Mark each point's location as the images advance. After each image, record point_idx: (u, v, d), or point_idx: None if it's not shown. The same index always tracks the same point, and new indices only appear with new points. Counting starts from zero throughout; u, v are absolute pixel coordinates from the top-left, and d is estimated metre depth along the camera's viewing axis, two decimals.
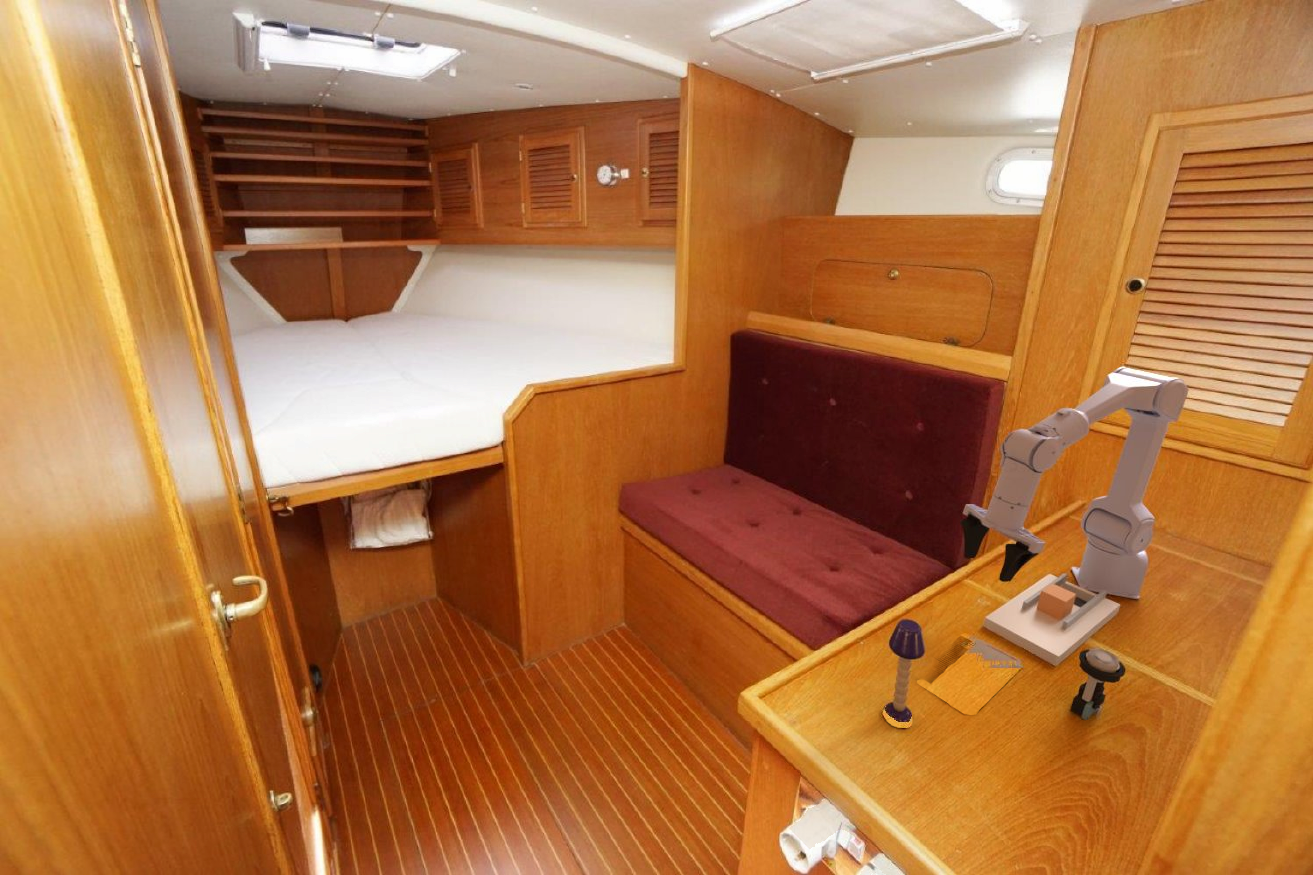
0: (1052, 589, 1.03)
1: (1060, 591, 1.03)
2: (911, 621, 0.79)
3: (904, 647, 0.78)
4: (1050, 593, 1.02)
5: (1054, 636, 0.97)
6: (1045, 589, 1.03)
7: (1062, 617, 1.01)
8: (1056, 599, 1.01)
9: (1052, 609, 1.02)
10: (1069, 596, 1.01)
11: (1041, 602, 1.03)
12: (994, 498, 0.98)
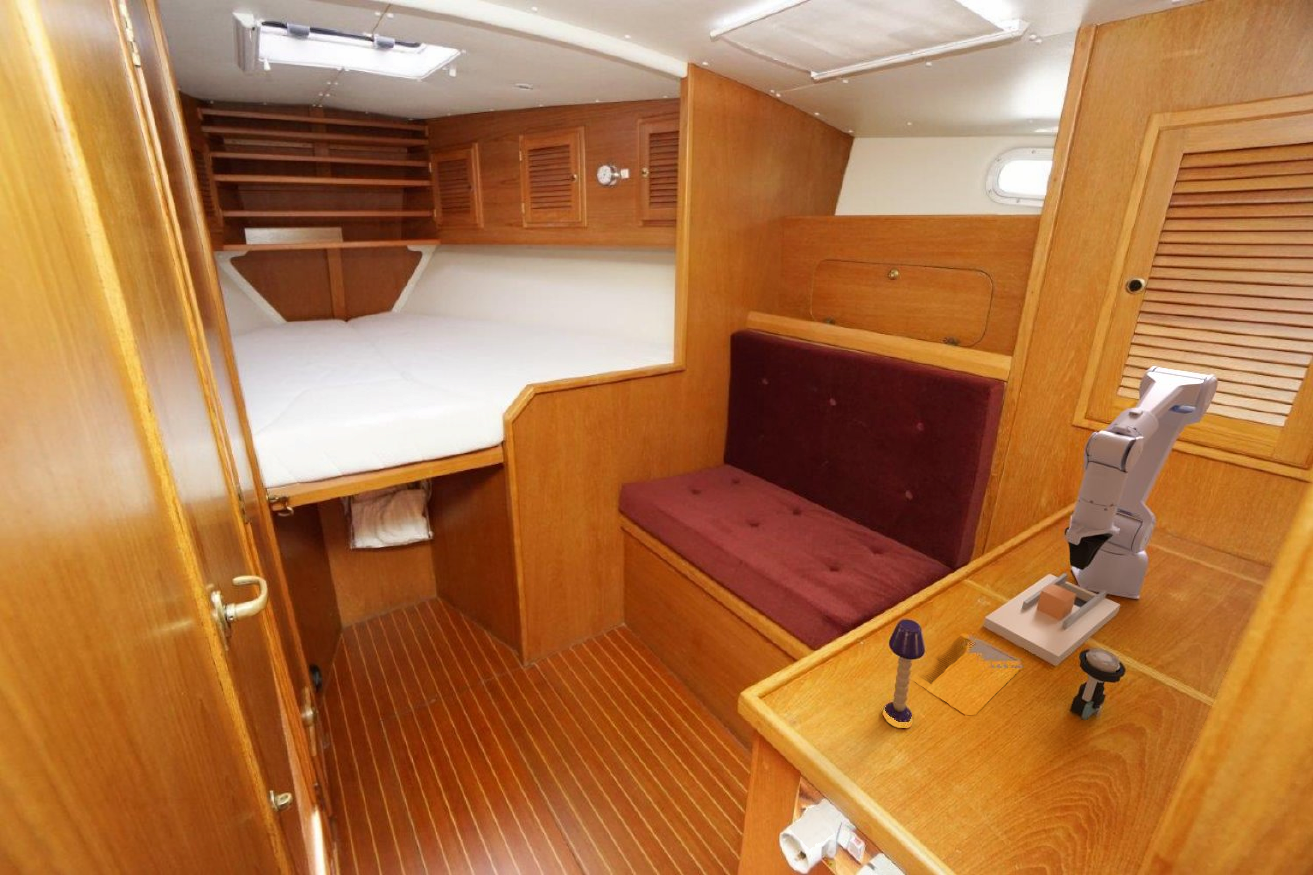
0: (1052, 589, 1.03)
1: (1060, 591, 1.03)
2: (911, 621, 0.79)
3: (904, 647, 0.78)
4: (1050, 593, 1.02)
5: (1054, 636, 0.97)
6: (1045, 589, 1.03)
7: (1062, 617, 1.01)
8: (1056, 599, 1.01)
9: (1052, 609, 1.02)
10: (1069, 596, 1.01)
11: (1041, 602, 1.03)
12: (1112, 508, 0.97)
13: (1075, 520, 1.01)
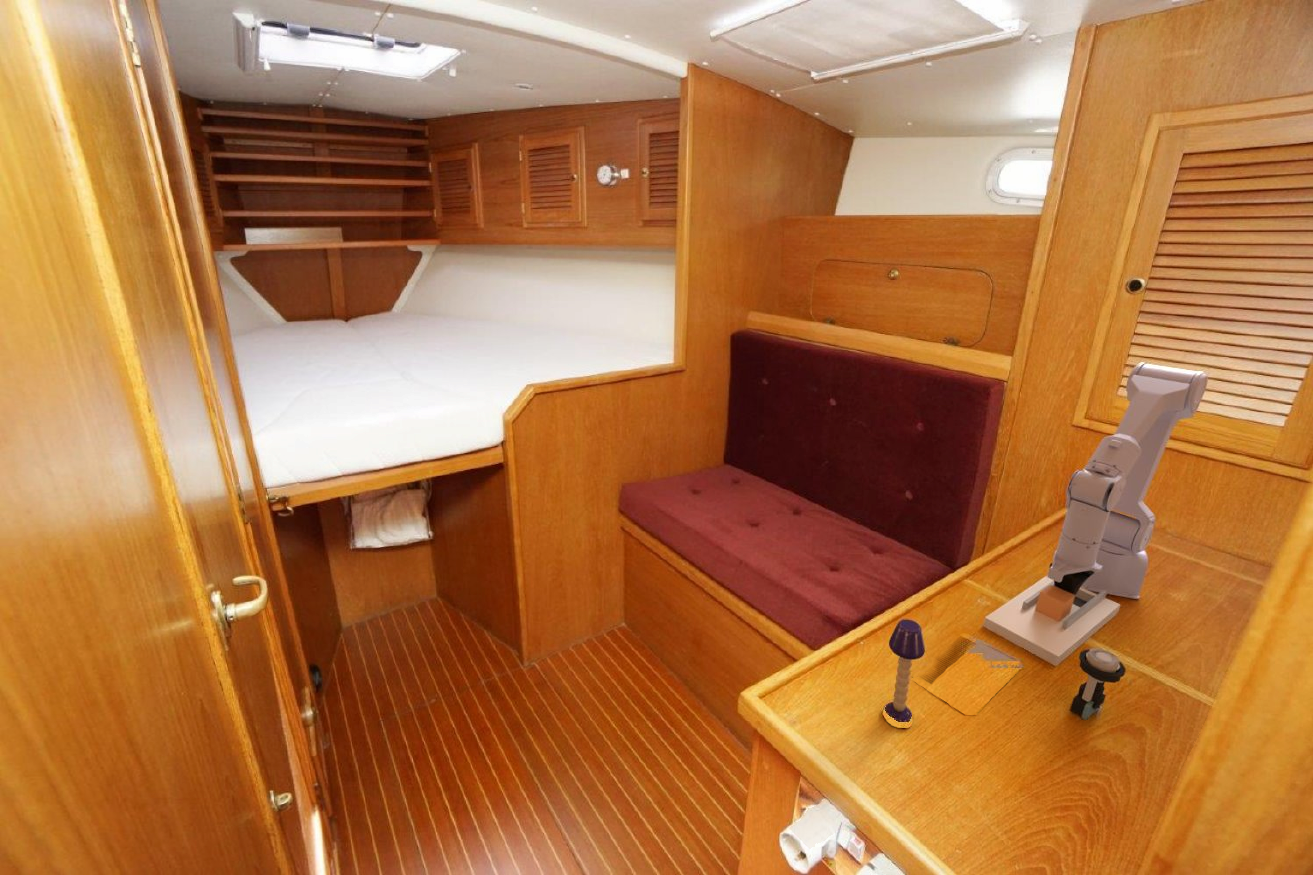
0: (1051, 590, 1.03)
1: (1058, 592, 1.02)
2: (911, 621, 0.79)
3: (904, 647, 0.78)
4: (1048, 594, 1.02)
5: (1054, 636, 0.97)
6: (1044, 590, 1.03)
7: (1061, 618, 1.01)
8: (1055, 600, 1.01)
9: (1051, 610, 1.02)
10: (1068, 597, 1.01)
11: (1040, 603, 1.03)
12: (1095, 546, 0.98)
13: (1058, 556, 1.02)
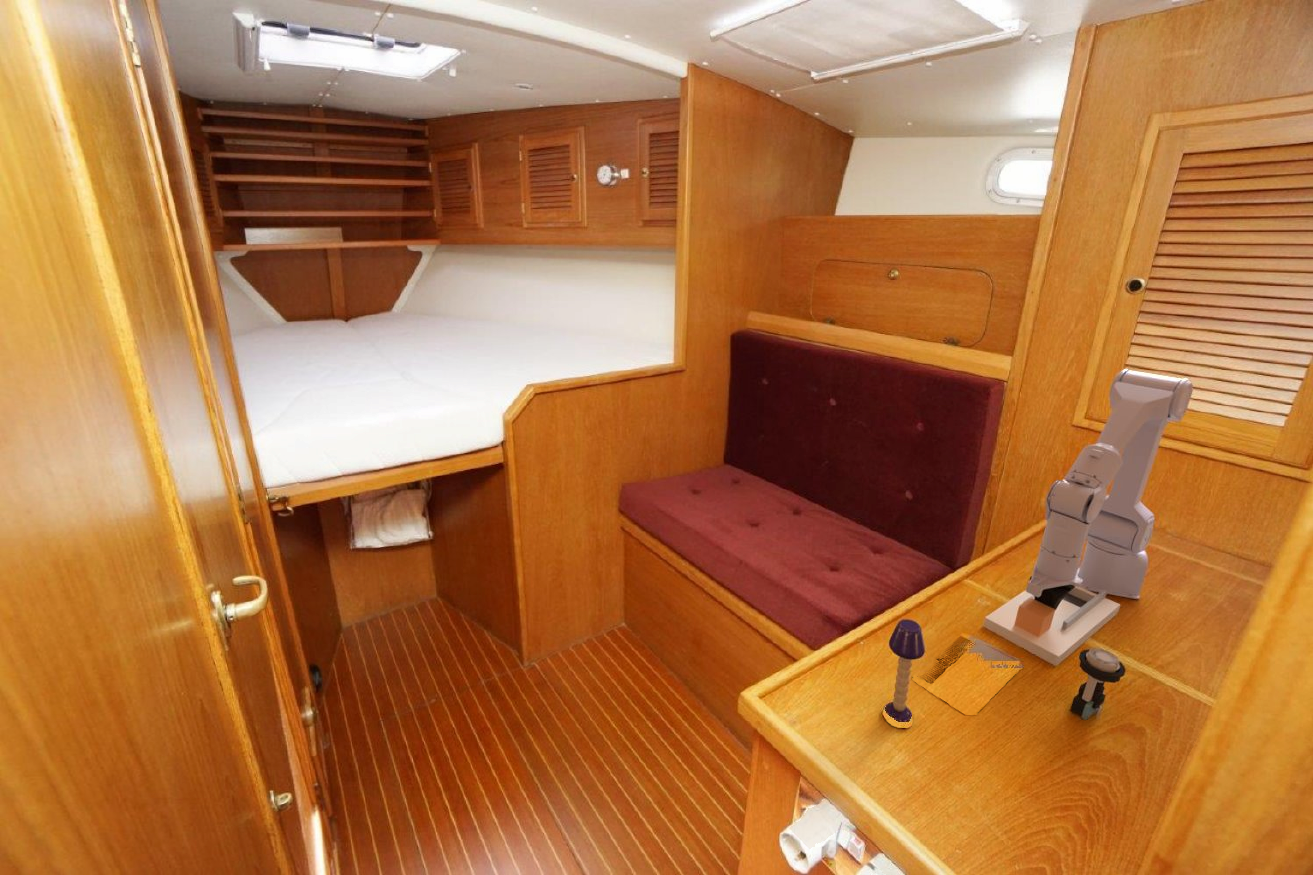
0: (1030, 604, 0.99)
1: (1038, 607, 0.99)
2: (911, 621, 0.79)
3: (904, 647, 0.78)
4: (1028, 608, 0.98)
5: (1054, 636, 0.97)
6: (1023, 604, 0.99)
7: (1040, 634, 0.97)
8: (1034, 615, 0.97)
9: (1030, 625, 0.98)
10: (1047, 612, 0.97)
11: (1019, 617, 0.99)
12: (1075, 559, 0.94)
13: (1038, 570, 0.98)
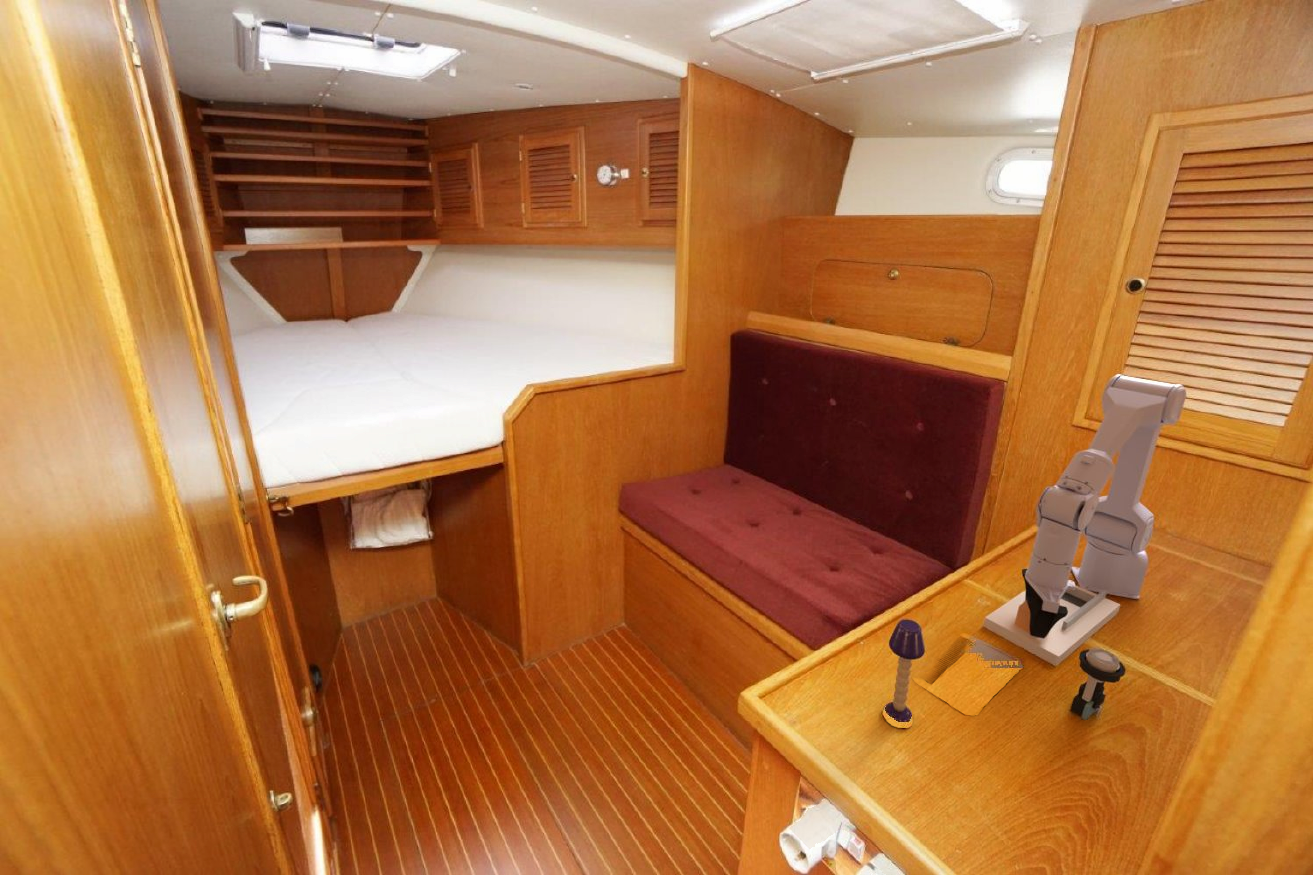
0: None
1: None
2: (911, 621, 0.79)
3: (904, 647, 0.78)
4: (1028, 608, 0.98)
5: (1054, 636, 0.97)
6: (1023, 604, 0.99)
7: None
8: None
9: None
10: None
11: (1019, 617, 0.99)
12: (1072, 564, 0.93)
13: (1036, 582, 0.95)
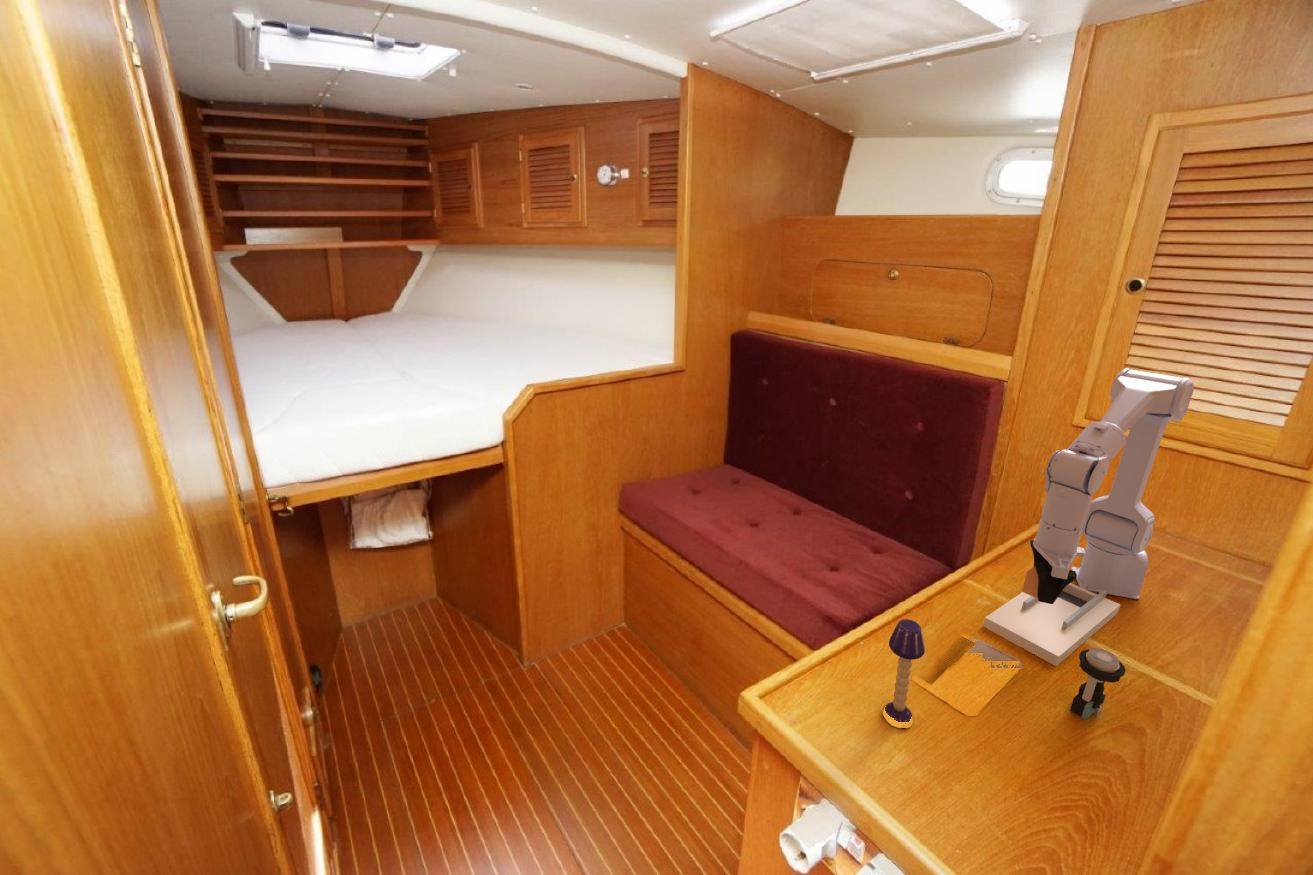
0: None
1: None
2: (911, 621, 0.79)
3: (904, 647, 0.78)
4: (1036, 574, 0.96)
5: (1054, 636, 0.97)
6: (1031, 570, 0.97)
7: None
8: None
9: None
10: None
11: (1027, 584, 0.97)
12: (1081, 530, 0.91)
13: (1045, 549, 0.93)
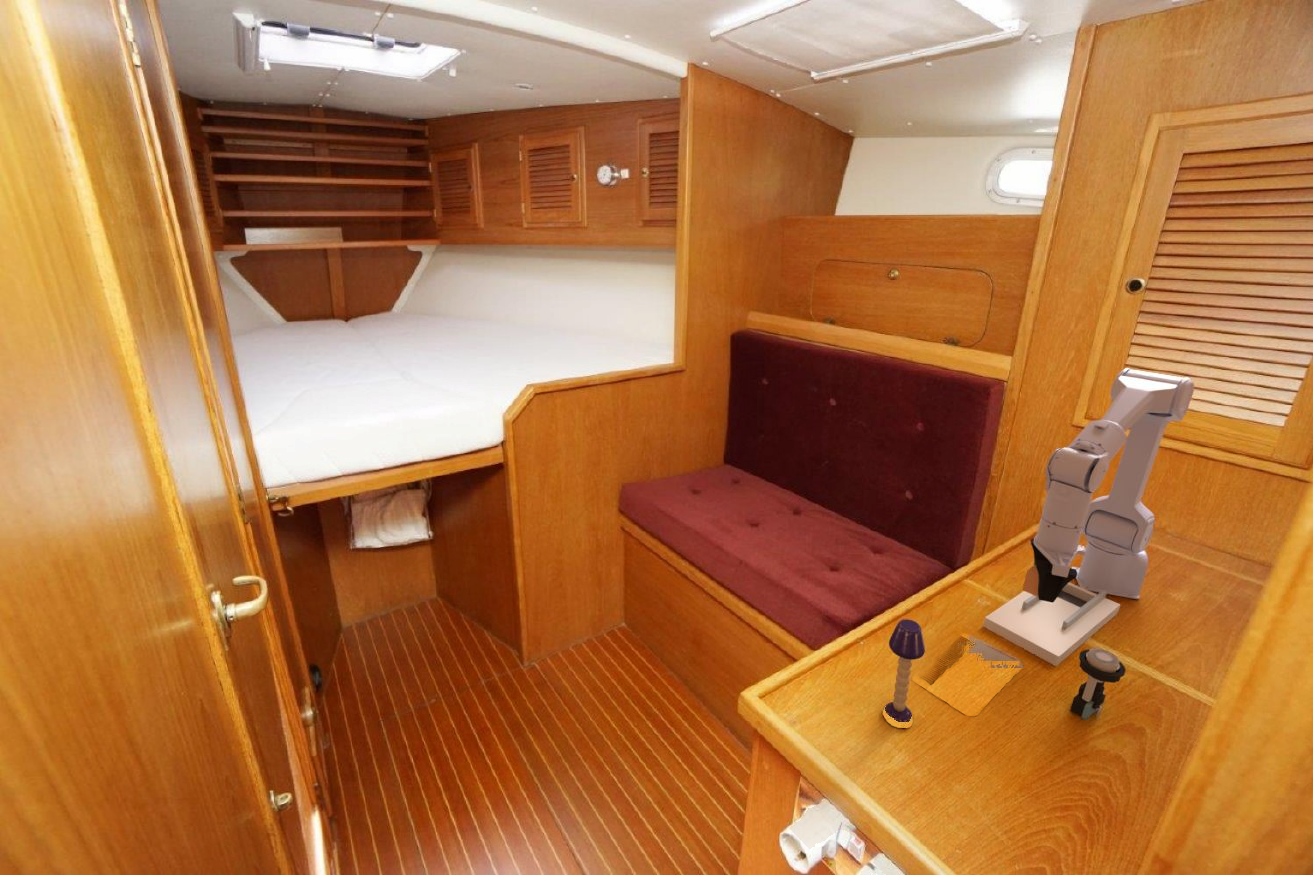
0: None
1: None
2: (911, 621, 0.79)
3: (904, 647, 0.78)
4: (1036, 572, 0.96)
5: (1054, 636, 0.97)
6: (1031, 568, 0.97)
7: None
8: None
9: None
10: None
11: (1027, 582, 0.97)
12: (1082, 528, 0.91)
13: (1046, 547, 0.93)
